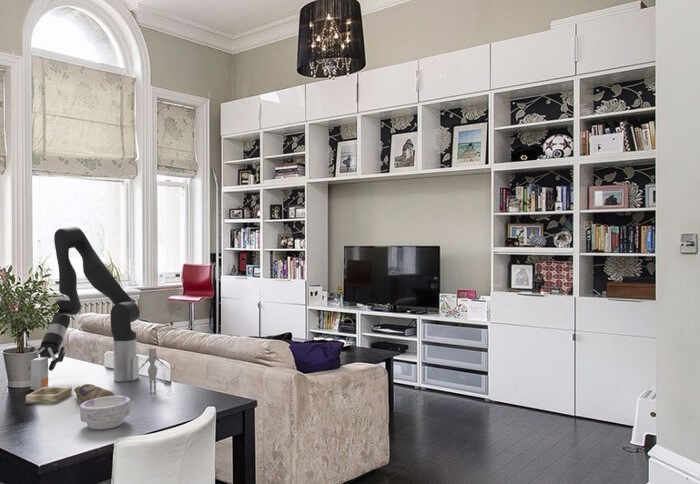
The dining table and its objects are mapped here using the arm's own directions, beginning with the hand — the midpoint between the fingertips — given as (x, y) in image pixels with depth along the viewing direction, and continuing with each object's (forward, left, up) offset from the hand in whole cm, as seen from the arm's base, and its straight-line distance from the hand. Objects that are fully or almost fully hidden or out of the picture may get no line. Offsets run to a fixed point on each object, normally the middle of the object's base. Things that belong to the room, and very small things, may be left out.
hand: (39, 369), depth 240 cm
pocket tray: (-13, +18, -7) cm, 23 cm away
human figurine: (-50, +11, -7) cm, 52 cm away
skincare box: (0, +1, -7) cm, 8 cm away
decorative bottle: (-33, +22, -8) cm, 40 cm away
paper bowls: (-48, +49, -7) cm, 69 cm away
